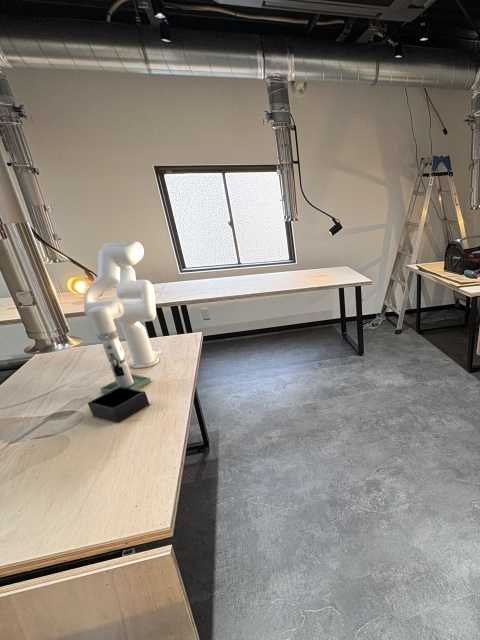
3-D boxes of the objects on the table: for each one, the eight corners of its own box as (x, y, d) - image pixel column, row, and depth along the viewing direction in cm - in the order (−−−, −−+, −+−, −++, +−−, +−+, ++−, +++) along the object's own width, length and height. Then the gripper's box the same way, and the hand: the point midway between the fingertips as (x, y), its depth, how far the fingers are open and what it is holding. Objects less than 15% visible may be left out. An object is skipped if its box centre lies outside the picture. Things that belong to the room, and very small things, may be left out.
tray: (131, 377, 196) (129, 373, 196) (151, 381, 192) (150, 377, 191) (101, 392, 184) (100, 388, 183) (122, 396, 180) (120, 392, 179)
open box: (125, 399, 178) (120, 386, 175) (149, 404, 173) (145, 391, 170) (93, 416, 166) (87, 402, 163) (118, 423, 161) (113, 409, 158)
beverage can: (127, 389, 184) (118, 365, 179) (115, 388, 186) (106, 364, 180) (137, 383, 190) (129, 359, 184) (125, 382, 191) (117, 358, 185)
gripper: (114, 340, 170) (128, 378, 179) (120, 327, 184) (133, 363, 193) (93, 343, 168) (109, 382, 176) (101, 330, 182) (115, 366, 190)
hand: (121, 372), depth 184 cm, fingers closed on beverage can, 6 cm apart
